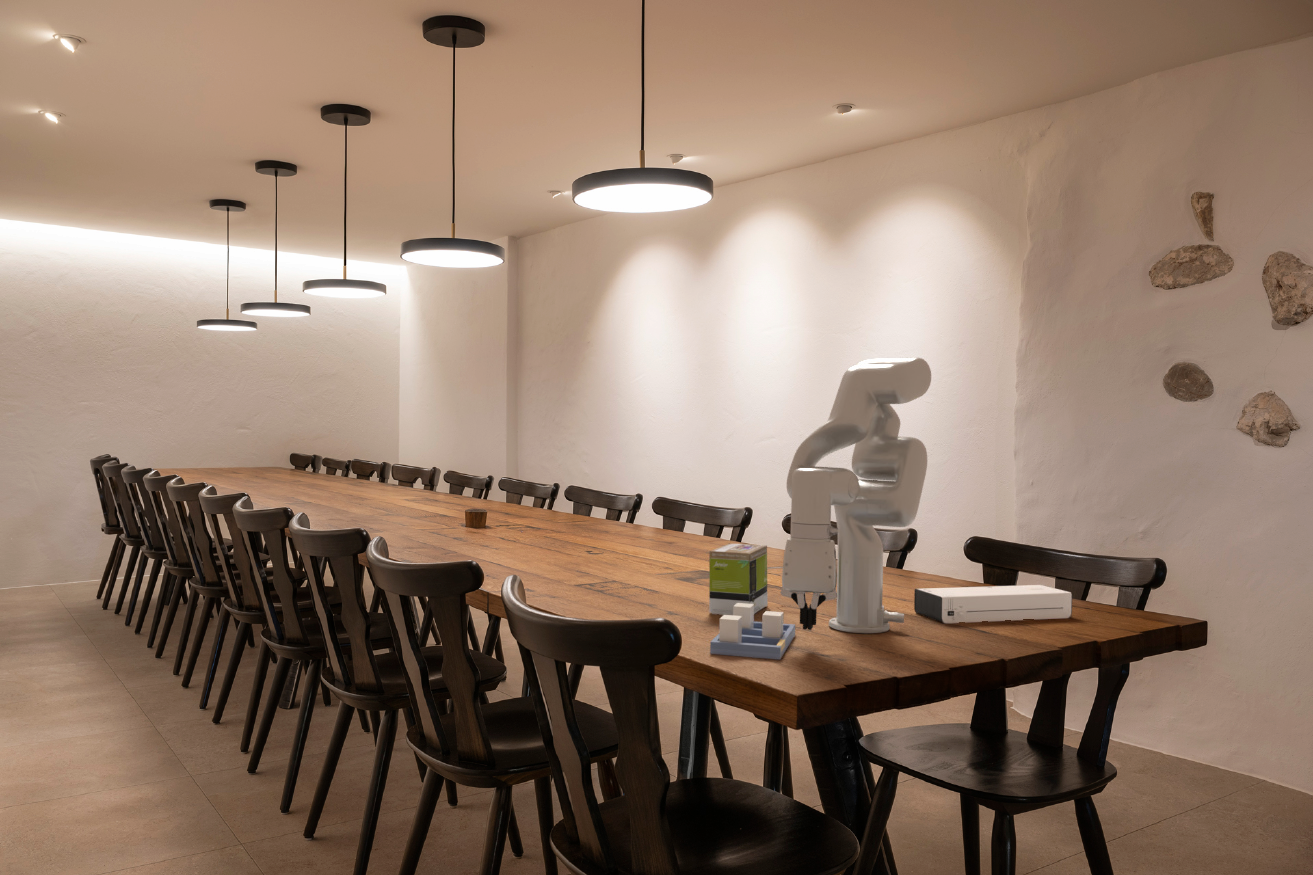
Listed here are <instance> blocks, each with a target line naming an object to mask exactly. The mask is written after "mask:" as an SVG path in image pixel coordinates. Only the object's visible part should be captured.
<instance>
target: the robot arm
mask: <svg viewBox="0 0 1313 875" xmlns="http://www.w3.org/2000/svg"><path fill="white" fill-rule="evenodd" d="M931 382H932V370H931V368H930V365H929V364H928V362H927V361H926V360H925V359H924V358H922V357H895V358H894V357H891V358H890V357H887V358H885V357H884V358H872V359H866V360H863V361H860V362H857V364H856V365H854V366H851V367H849V368H848V369H847V370H845V372H844V374H843V375H842V378H841V380H840V384H839V386H838V389H837V392H836V396H835V399H834V402H833V405H832V407H831V411H830V413H829V417H828V419H827V421H826V422H825V423H823V424H822V425H821V426H819V427H818V428H817V429H815V430H814V431H813V432H812V433H811V434H810V435H808V436H807V437H806V438H805V439H804V440H803V441H802V442H801V443H800V445H799V446H798V448H797V449H796V450H795V453H794V455H793V458H792V461H791V464H790V466H789V470H788V474H787V478H786V491H787V494H788V497H789V498H790V499H791V504H790V505H791V508H790V512H791V513H790V514H791V515H790V537H789V538H786V542H785V548H784V553H783V562H782V570H781V572H782V573H781V585H782V586H781V589H780V595H781V596H783V597H786V598H789V599H792V600H793V602H795V604H796V605H797V606H798V607H799V625H802V630H808V631H812V630H813V628H814V626H817V614H818V613H817V612H818V611H817V609H818V607H819V606H820V605H821V604H823V603H824V602H826V601H827V602H828V601H833V600H836V617H835V616H834V617H832V618H830V619H829V621H828V626H829V627H830V628H832V629H835V630H837V631H841V632H847V633H854V634H855V633H856V634H879V633H885V632H889V630H890V623H889V622H892V623H896V624H897V623H898V624H899V623H900V624H904V623H905V614H904V613H900V612H897V611H894V612H893V611H891V612H890V611H888V610H885V605H883V583H884V582H883V581H884V545H883V541H882V540H881V537H880V535H879V534H878V532H877V531H876V529H875V528H874V526H875V527H876V526H879V527H881V526H882V527H890V528H891V527H892V528H893V527H894V528H895V527H896V528H906V527H909V526H910V525H912V524H913V523H914V521H915V519H916V517H917V515H918V510H919V506H920V501H921V496H922V493H923V490H924V489H923V488H924V483H925V480H926V475H927V469H928V452H927V448H926V445H925V444H924V443H923V442H922V440H920V439H918V438H916V437H911V436H899V432H900V428H901V419H900V417H899V415H898V413H897V411H896V410H895V409H894V408H893V406H892V405H902V404H907V403H910V402H912V401H914V400H916V399H919V398H920V397H923V396H924V395H925V394H926V393H927V392H928V390H929V389H930V386H931ZM853 445H854V447H853V448H854V449H853V452H852V455H851V456H852V457H851V469H852V470H851V469H848V468H844V467H832V466H829V467H828V466H816V465H817V464H818V463H819V462H820V461H821V460H822V459H824V458H825V457H826V456H828V455H831V454H832V453H835V452H838V451H840V450H842V449H843V450H844V449H845V448H847V447H850V446H853ZM858 477H860V478H861V479H860V478H858ZM832 506H833V507H834V513H835V521H836V527H835V526H832V522H831V521H832V520H831V519H832V518H831V516H832ZM833 536H837V549H836V543H835V540H833V539H831V537H833ZM806 593H810V594H811V593H812V596H811V602H810V604H809V606H808V603H807V597H806Z"/></svg>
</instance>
